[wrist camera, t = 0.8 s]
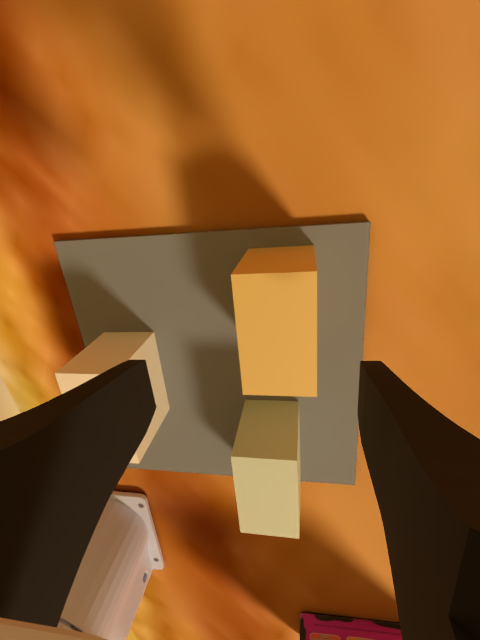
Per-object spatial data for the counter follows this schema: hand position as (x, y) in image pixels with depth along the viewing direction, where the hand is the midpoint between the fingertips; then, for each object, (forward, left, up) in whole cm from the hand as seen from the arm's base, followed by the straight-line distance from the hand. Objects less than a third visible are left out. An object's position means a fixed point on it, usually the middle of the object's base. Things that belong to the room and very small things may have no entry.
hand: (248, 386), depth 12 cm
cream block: (-5, +9, -9) cm, 14 cm away
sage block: (-10, 0, -9) cm, 14 cm away
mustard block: (0, -1, -9) cm, 9 cm away
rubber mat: (-5, +4, -9) cm, 11 cm away
